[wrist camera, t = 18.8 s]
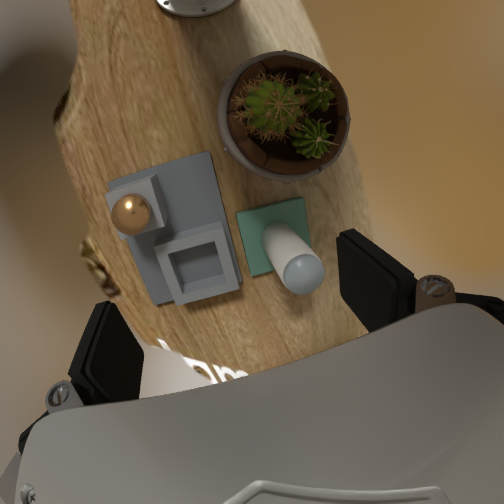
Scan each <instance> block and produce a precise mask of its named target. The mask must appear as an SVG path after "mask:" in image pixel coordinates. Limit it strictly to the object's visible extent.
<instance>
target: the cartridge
mask: <svg viewBox="0 0 504 504" xmlns="http://www.w3.org/2000/svg"><path fill="white" fill-rule="evenodd" d="M260 242H261V245H262V247H263V249H264V251H265V252H266V254H267V256H268V258H269V259H270V261H271V263H272V265H273V266H274V268H275V270H276V272H277V273H278V275H279V277H280V279H281V280H282V282H283V284H284V285H285V287H286V288H288V289H289V290H290V291H291V292H293V293H295V294H298V295H304V294H308V293H311V292H313V291H314V290H316V289H317V288H318V287H319V286H320V285H321V283H322V281H323V279H324V276H325V269H324V266H323V264H322V261H321V260H320V258H319V257H318V256H317V255H316V254H315V253H314V252H313V251H312V250H311V248H310V247H309V246H308V245H307V244H306V243H305V242H304V241H303V240H302V239H301V238H300V237H299V236H298V235H297V234H296V233H295V232H294V231H293V230H292V228H291V227H290V226H289V225H287V224H286V223H283V222H273V223H271V224H269V225H267V226H266V227H265V228H264V229H263V231H262V233H261V237H260Z"/></svg>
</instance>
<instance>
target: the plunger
mask: <svg viewBox="0 0 504 504" xmlns="http://www.w3.org/2000/svg"><path fill="white" fill-rule="evenodd" d="M150 216H151V207H150V204H149V202H148V200H147V199H146V198H145V197H144V196H142V195H140V194H137V193H129V194H126V195H124V196H123V197H122V198H120V199H119V200H118V201H117V202H116V203H115V204H114V206H113V208H112V211H111V219H112V222H113V224H114V226H115V227H116V229H117V230H118V231H120V232H121V233H123V234H126V235H134V234H137V233H139V232H141V231H142V230H143V229H144V228H145V226H146V225H147V223H148V221H149V219H150Z"/></svg>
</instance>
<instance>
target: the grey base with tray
mask: <svg viewBox="0 0 504 504" xmlns="http://www.w3.org/2000/svg"><path fill="white" fill-rule="evenodd" d="M108 186H109V189H110V192H108V193H106V194H105V197H106V200H107V203H108V206H109V209H110V212H111V211H112V208H113V206H114V204H115V203H116V202H117V201H118V200H119V199H120V198H122V197H123V196H124V195H126V194H129V193H137V194H140V195H142V196H144V197H145V198H146V199H147V200H148V202H149V204H150V207H151V216H150V219H149V221H148V223H147V225H146V226H145V228H144V229H143V230H142V231H141V232H139V233H137V234H134V235H126V234H123V233H121V232H120V231H118V230H117V232H118V234H119V237H120V240H122V239H125V238H126V239H127V242H128V244H129V247H130V249H131V252H132V255H133V257H134V260H135V262H136V265H137V267H138V269H139V272H140V274H141V277H142V279H143V281H144V284H145V286H146V288H147V291H148V293H149V295H150V297H151V300H152V302H153V304H154V305H157V304H161V303H165V302H169V301H173V300H174V301H175V304H176V306H178V305H181V304H185V303H189V302H193V301H197V300H201V299H204V298H208V297H212V296H216V295H219V294H223V293H227V292H230V291H234V290H238V289H239V285H238V283H240V282H242V278H241V274H240V270H239V266H238V263H237V259H236V255H235V251H234V247H233V243H232V240H231V236H230V232H229V228H228V224H227V220H226V216H225V212H224V208H223V204H222V200H221V196H220V192H219V188H218V184H217V180H216V176H215V172H214V168H213V164H212V160H211V156H210V152H209V151H206V152H202V153H198V154H194V155H191V156H187V157H183V158H180V159H177V160H173V161H170V162H166V163H163V164H160V165H157V166H154V167H151V168H148V169H144V170H141V171H138V172H136V173H133V174H130V175H127V176H124V177H121V178H119V179H116V180H113V181H110V182H108Z"/></svg>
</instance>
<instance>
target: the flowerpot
mask: <svg viewBox="0 0 504 504" xmlns="http://www.w3.org/2000/svg"><path fill="white" fill-rule="evenodd" d="M223 84H224V87H223V88H222V91H221V93H220V97H219V101H218V106H217V124H218V129H219V133H220V137H221V140H222V142H223V144H224V146H225V147H224V151H225V152H229V153H230V155H231V156H232V157H233V158H234V159H235V160H236V161H237V162H238V163H239V164H241V165H242V166H243V167H245V168H246V169H248V170H249V171H251V172H253V173H255V174H257V175H259V176H261V177H264V178H267V179H270V180H274V181H280V182H284V183H285V184H289V183H290V182H293V181H301V180H305V179H308V178H310V177H312V176H314V175H316V174H318V173H320V172H321V171H322V170H324V169H325V168H327V167H328V166H330V165H331V164H332V163H334V162H335V161H336V159H337V158H338V157H339V155H340V153H341V151H342V149H343V147H344V145H345V142H346V139H347V136H348V131H349V127H350V120H351V119H350V113H349V107H348V99H347V96H346V94H345V91H344V90H343V88H342V86H341V84H340V83H339V81H338V80H337V79H336V77H335V76H334V75H333V74H332V73H331V72H330V71H328V70H327V69H326V68H325V67H324V66H322V65H321V64H320V63H318V62H316V61H315V60H313V59H311V58H309V57H307V56H304V55H302V54H299V53H295V52H290V51H287V50H283V51H274V52H269V53H265V54H261V55H258V56H256V57H253V58H251V59H249V60H247V61H246V62H244V63H243V64H241V65H240V66H239V67H237V68H236V69H235V70H234V71H233V72H232V73H231V74H230V76H229V78H227V79H224V80H223ZM233 88H234V89H233ZM232 90H233V91H232Z"/></svg>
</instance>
